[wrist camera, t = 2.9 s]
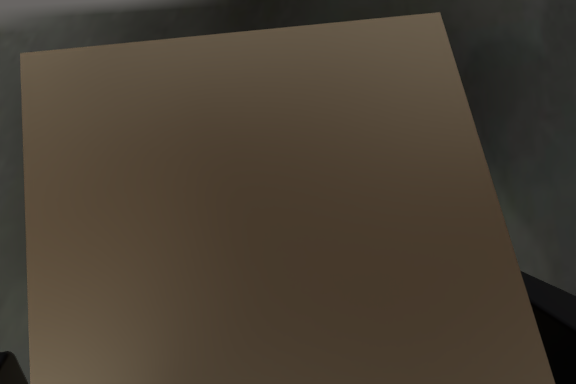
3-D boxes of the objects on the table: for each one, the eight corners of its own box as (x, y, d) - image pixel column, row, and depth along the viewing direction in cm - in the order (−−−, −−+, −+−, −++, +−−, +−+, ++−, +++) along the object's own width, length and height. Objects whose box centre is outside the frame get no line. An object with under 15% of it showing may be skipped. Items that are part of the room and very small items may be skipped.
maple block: (324, 375, 18) (589, 493, 4) (197, 401, 17) (37, 637, 4) (299, 241, 19) (439, 12, 6) (181, 261, 18) (20, 53, 5)
